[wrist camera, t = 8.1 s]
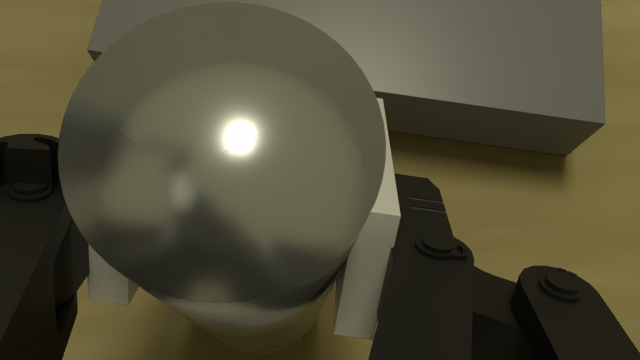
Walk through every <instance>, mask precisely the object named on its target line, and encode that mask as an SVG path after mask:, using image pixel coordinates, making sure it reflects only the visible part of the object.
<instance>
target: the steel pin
mask: <svg viewBox="0 0 640 360" xmlns="http://www.w3.org/2000/svg"><path fill="white" fill-rule="evenodd" d="M385 162H386V137H385V128H384V122H383V118H382V114H381V110H380V106H379V103H378V101H377V98H376V96H375V93H374V91H373V88H372V87H371V85H370V83H369V81H368V80H367V78H366V76H365V74H364V73H363V71H362V70H361V68H360V67H359V66H358V64H357V63H356V62H355V60H354V59H353V58H352V57H351V56H350V55H349V54H348V52H347V51H346V50H345V49H344V48H343V47H342V46H341V45H340V44H339V43H337V42H336V41H335V40H334V39H332V38H331V37H330V36H329V35H327V34H326V33H325V32H324V31H322V30H320V29H319V28H317V27H315V26H314V25H312V24H310V23H309V22H307V21H305V20H303V19H301V18H298V17H296V16H294V15H292V14H290V13H286V12H283V11H280V10H277V9H274V8H271V7H266V6H261V5H256V4H250V3H239V2H212V3H205V4H197V5H191V6H187V7H183V8H179V9H175V10H172V11H169V12H167V13H164V14H161V15H158V16H156V17H154V18H152V19H150V20H148V21H146V22H144V23H142V24H140V25H138V26H136V27H135V28H133V29H132V30H130V31H129V32H127V33H125V34H124V35H122V36H121V37H120V38H119V39H117V40H116V41H115V42H114V43H113V44H111V45H110V46H109V47H108V48H107V49H106V50H105V51H104V52H103V53H102V54H101V55H100V56H99V57H98V58H97V59H96V60H95V61H94V62H93V63H92V65H91V66H90V67H89V69H88V70H87V72H86V73H85V74H84V76H83V77H82V78H81V80H80V82H79V84H78V85H77V87H76V89H75V91H74V93H73V95H72V96H71V99H70V101H69V104H68V107H67V109H66V112H65V114H64V118H63V122H62V127H61V131H60V135H59V147H58V166H59V178H60V182H61V187H62V192H63V196H64V199H65V201H66V204H67V207H68V209H69V212H70V215H71V216H72V218H73V220H74V222H75V224H76V225H77V227H78V229H79V231H80V233H81V234H82V235H83V237H84V238H85V239H86V241H87V242H88V243H89V244H90V246H91V247H92V248H93V250H94V251H95V252H96V253H97V254H98V255H99V256H100V257H101V258H103V259H104V260H105V261H106V262H107V263H108V264H109V265H110V266H111V267H113V268H114V269H115V270H117V271H118V272H120V273H121V274H122V275H124V276H125V277H127V278H128V279H129V280H131V281H132V282H134V283H135V284H137V285H138V286H140V287H141V288H143V289H144V290H146V291H147V292H148V293H150V294H151V295H153V296H154V297H156V298H157V299H159V300H160V301H162V302H163V303H165V304H166V305H167V306H169V307H170V308H172V309H173V310H175V311H176V312H178V313H179V314H181V315H182V316H184V317H185V318H187V319H188V320H189V321H191V322H192V323H194V324H195V325H197V326H198V327H200V328H201V329H203V330H204V331H206V332H207V333H208V334H210V335H211V336H213V337H214V338H216V339H217V340H219V341H220V342H222V343H223V344H225V345H226V346H228V347H230V348H232V349H234V350H237V351H240V352H244V353H248V354H268V353H273V352H277V351H280V350H283V349H285V348H287V347H289V346H291V345H292V344H294V343H295V342H297V341H298V340H299V339H300V338H302V337H303V336H304V335H305V334H306V333H307V331H308V330H309V329H310V328H311V326H312V325H313V323H314V322H315V320H316V318H317V316H318V314H319V312H320V310H321V308H322V306H323V304H324V302H325V300H326V299H327V297H328V295H329V293H330V291H331V289H332V287H333V285H334V283H335V281H336V279H337V277H338V275H339V273H340V271H341V269H342V267H343V265H344V263H345V261H346V260H347V258H348V256H349V254H350V252H351V250H352V248H353V246H354V244H355V242H356V240H357V238H358V236H359V234H360V232H361V230H362V228H363V226H364V224H365V222H366V221H367V219H368V216H369V214H370V212H371V210H372V208H373V206H374V204H375V202H376V199H377V196H378V193H379V190H380V187H381V184H382V180H383V174H384V168H385Z"/></svg>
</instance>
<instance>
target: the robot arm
mask: <svg viewBox="0 0 640 360" xmlns="http://www.w3.org/2000/svg"><path fill="white" fill-rule="evenodd" d="M377 101H378V103H379V106H380V110H381V114H382V118H383V122H384V128H385V137H386V162H385V168H384V174H383V180H382V184H381V187H380V190H379V193H378V196H377V199H376V202H375V204H374V206H373V208H372V210H371V212H370V214H369V216H368V219H367V221H366V222H365V224H364V226H363V228H362V230H361V232H360V234H359V236H358V238H357V240H356V242H355V244H354V246H353V248H352V250H351V252H350V254H349V256H348V258H347V260H346V261H345V263H344V265H343V267H342V269H341V271H340V273H339V275H338V277H337V279H336V295H335V319H334V334H336V335H343V336H350V337H357V338H364V339H372V340H373V338H374V340H373V344H372V348H371V352H370V356H369V360H640V353H639V351H638V350H637V348H636V347H635V345H634V344H633V343H632V341H631V340H630V338H629V337H628V335H627V334H626V332H625V331H624V329H623V328H622V326H621V325H620V324H619V322H618V321H617V319H616V318H615V316H614V315H613V313H612V312H611V310H610V309H609V307H608V306H607V305H606V303H605V302H604V300H603V299H602V297H601V296H600V294H599V293H598V292H597V291H596V290H595V289H594V288H593V287H592V286H591V285H590V284H589V283H588V282H586V281H585V280H583V279H582V278H580V277H578V276H577V275H576V274H574V273H572V272H570V271H569V272H567V270H564V269H561V268H554V267H550V266H531V267H528V268H525V269H524V270H523V271H522V272H521V274H520V275H519V278H518V281H517V283H515V282H512V281H509V280H506V279H503V278H500V277H497V276H494V275H492V274H489V273H487V272H484V271H482V270H480V269H478V268H477V267H475V266H474V257H473V254H472V251H471V250H470V249H469V248H468V247H467V246H466V245H465V244H464V243H463V242H461V241H460V240H458V239H456V238H454V237H453V234H452V230H451V227H450V224H449V220H448V217H447V214H446V213H445V211H446V210H445V207H444V204H443V200H442V197H441V194H440V190H439V189H438V188H437V187H436V186H435V185H434V184H433V183H432V182H431V181H430V180H429V179H428V178H421V177H414V176H407V175H400V174H394V169H393V162H392V156H391V149H390V143H389V136H388V130H387V123H386V116H385V110H384V103H383V99H381V98H377ZM58 147H59V138H56V137H53V136H48V135H41V134H18V135H11V136H5V137H2V138H0V360H62V358H63V355H64V352H65V349H66V346H67V343H68V340H69V337H70V334H71V331H72V328H73V325H74V322H75V319H76V316H77V290H78V289H79V287H80V286H81V284H82V283H83V281H84V280H85V279H86V277H87V276H88V298H89V300H92V301H100V302H107V303H114V304H121V305H129V303H130V302H131V300H132V298H133V296H134V294H135V292H136V291H137V289H138V287H139V286H138V285H137V284H135V283H134V282H132V281H131V280H129V279H128V278H127V277H125V276H124V275H122V274H121V273H120V272H118V271H117V270H115V269H114V268H113V267H111V266H110V265H109V264H108V263H107V262H106V261H105V260H104V259H103V258H101V257H100V256H99V255H98V254H97V253H96V252H95V251H94V250H93V248H92V247H91V246H90V244H89V243H88V242H87V241H86V239H85V238H84V237H83V235H82V234H81V233H80V231H79V229H78V227H77V225H76V224H75V222H74V220H73V218H72V216H71V215H70V212H69V209H68V207H67V204H66V201H65V199H64V196H63V192H62V187H61V182H60V178H59V166H58ZM377 320H378V325H377ZM376 325H377V329H376ZM375 329H376V332H375ZM374 334H375V336H374Z"/></svg>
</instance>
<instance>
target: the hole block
mask: <svg viewBox="0 0 640 360" xmlns="http://www.w3.org/2000/svg"><path fill="white" fill-rule="evenodd" d="M212 2H239V3H250V4H256V5H261V6H266V7H271V8H274V9H277V10H280V11H283V12H286V13H290V14H292V15H294V16H296V17H298V18H301V19H303V20H305V21H307V22H309V23H310V24H312V25H314V26H315V27H317V28H319V29H320V30H322V31H324V32H325V33H326V34H327V35H329V36H330V37H331V38H332V39H334V40H335V41H336V42H337V43H339V44H340V45H341V46H342V47H343V48H344V49H345V50H346V51H347V52H348V54H349V55H350V56H351V57H352V58H353V59H354V60H355V62H356V63H357V64H358V66H359V67H360V68H361V70H362V71H363V73H364V74H365V76H366V78H367V80H368V81H369V83H370V85H371V87H372V88H373V91H374V93H375V96H376V98H381V99H383V103H384V110H385V116H386V123H387V130H388V131H395V132H402V133H409V134H416V135H423V136H430V137H437V138H444V139H451V140H458V141H465V142H472V143H479V144H487V145H494V146H501V147H508V148H515V149H522V150H529V151H536V152H543V153H550V154H557V155H564V156H567V155H568V154H569V153H570V152H572V151H573V150H574V149H575V148H576V147H578V146H579V145H580V144H581V143H583V142H584V141H585V140H586V139H587V138H589V137H590V136H591V135H592V134H593V133H595V132H596V131H597V130H598V129H600V128H601V127H602V126H603V125H604V124H605V100H604V73H603V46H602V19H601V0H102V3H101V6H100V10H99V13H98V16H97V19H96V23H95V26H94V29H93V33H92V36H91V39H90V42H89V46H88V49H87V50H88V52H89V54H90V55H91V57H92V59H93V60H94V61H95V60H96V59H97V58H98V57H99V56H100V55H101V54H102V53H103V52H104V51H105V50H106V49H107V48H108V47H109V46H110V45H111V44H113V43H114V42H115V41H116V40H117V39H119V38H120V37H121V36H122V35H124V34H125V33H127V32H129V31H130V30H132V29H133V28H135V27H136V26H138V25H140V24H142V23H144V22H146V21H148V20H150V19H152V18H154V17H156V16H158V15H161V14H164V13H167V12H169V11H172V10H175V9H179V8H183V7H187V6H191V5H197V4H205V3H212Z"/></svg>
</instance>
